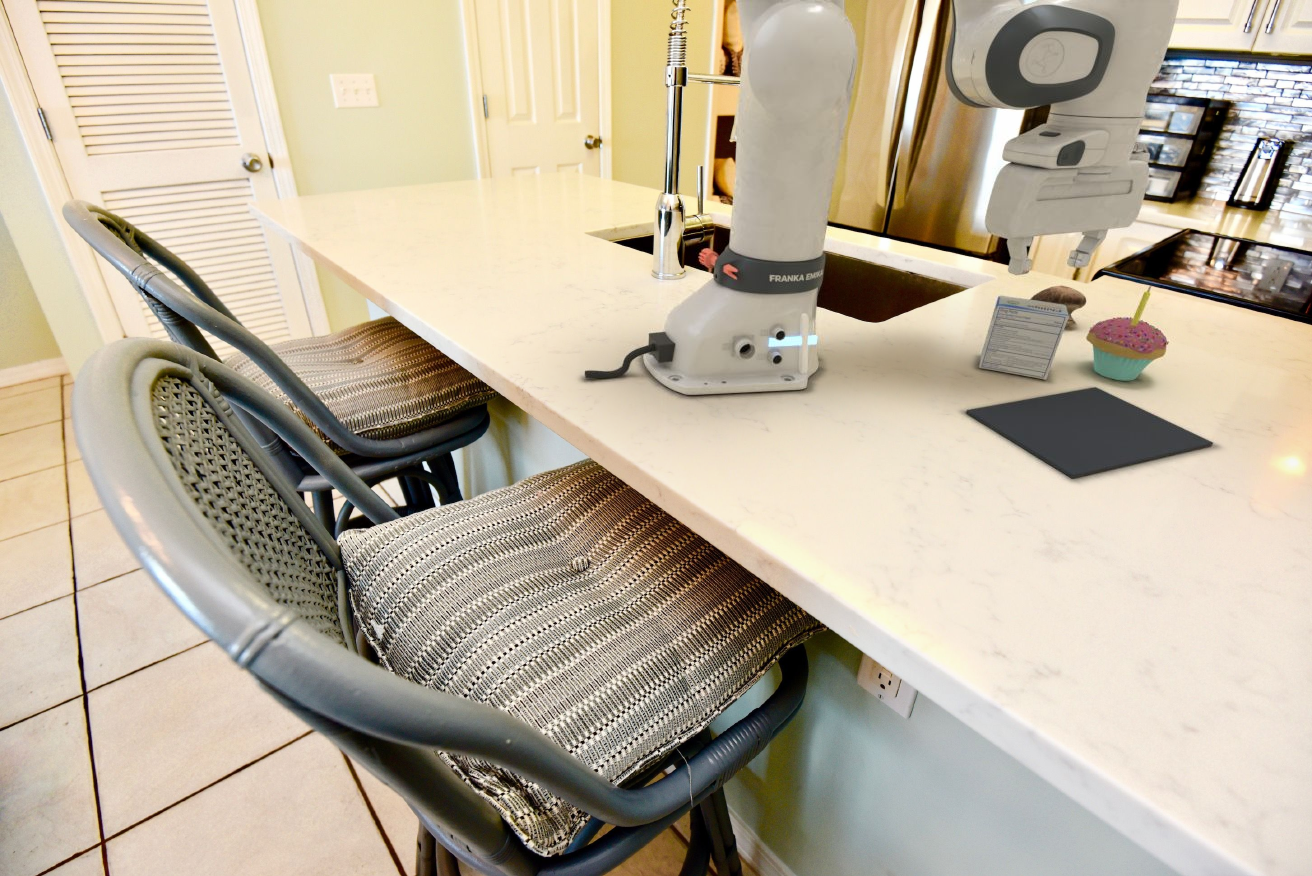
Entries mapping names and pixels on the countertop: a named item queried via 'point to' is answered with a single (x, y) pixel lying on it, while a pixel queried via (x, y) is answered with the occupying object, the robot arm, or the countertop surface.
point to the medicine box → (1023, 336)
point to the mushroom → (1062, 299)
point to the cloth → (1087, 431)
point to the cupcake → (1126, 345)
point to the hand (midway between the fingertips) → (1047, 270)
